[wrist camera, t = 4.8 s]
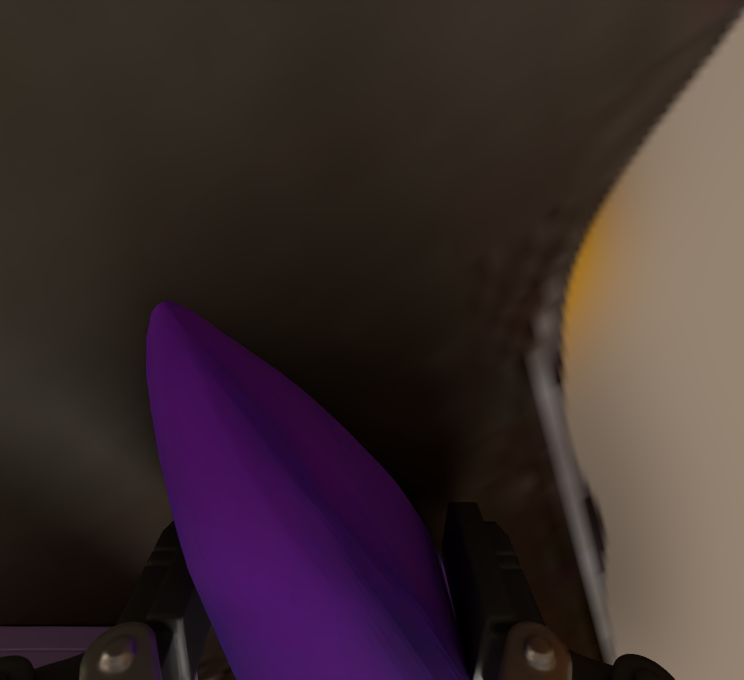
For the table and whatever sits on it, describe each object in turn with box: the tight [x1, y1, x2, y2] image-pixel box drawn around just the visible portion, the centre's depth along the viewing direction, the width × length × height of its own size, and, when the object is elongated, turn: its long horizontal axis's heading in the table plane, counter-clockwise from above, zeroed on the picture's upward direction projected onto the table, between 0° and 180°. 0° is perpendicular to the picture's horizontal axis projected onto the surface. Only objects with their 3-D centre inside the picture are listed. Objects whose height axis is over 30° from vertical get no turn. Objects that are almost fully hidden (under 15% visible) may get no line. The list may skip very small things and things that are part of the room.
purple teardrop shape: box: [146, 300, 470, 680], centre depth 11 cm, size 5×5×15 cm
